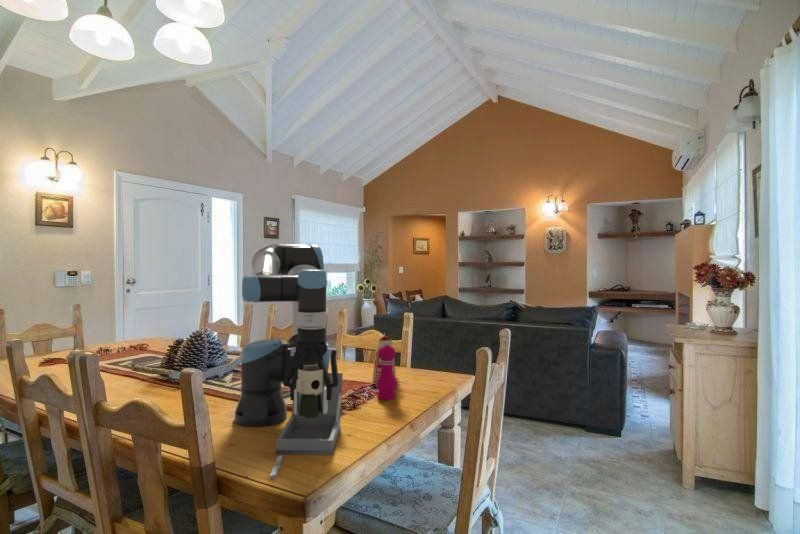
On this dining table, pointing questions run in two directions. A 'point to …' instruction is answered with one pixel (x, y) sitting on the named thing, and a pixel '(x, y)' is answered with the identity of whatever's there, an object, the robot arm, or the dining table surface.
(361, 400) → the dining table surface
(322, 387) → the character mug
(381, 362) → the pepper mill
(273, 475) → the rod
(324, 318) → the robot arm
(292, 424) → the case
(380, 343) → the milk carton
